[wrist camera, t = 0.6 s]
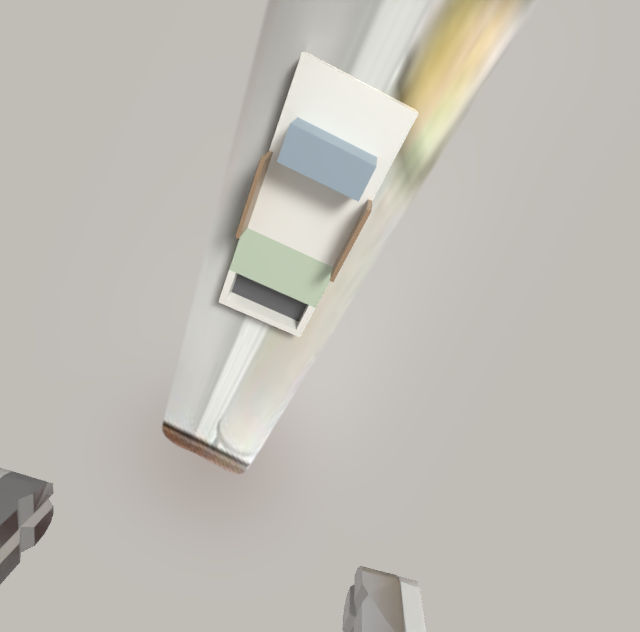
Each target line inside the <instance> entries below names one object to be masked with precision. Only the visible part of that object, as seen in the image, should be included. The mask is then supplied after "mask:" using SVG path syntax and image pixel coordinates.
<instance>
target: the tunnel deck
mask: <svg viewBox="0 0 640 632" xmlns="http://www.w3.org/2000/svg"><path fill="white" fill-rule="evenodd" d="M417 115H418V112H417V110H415V109H413V108H411V107H410V106H408V105H406V104H404V103H402V102H400V101H398V100H396V99H394V98H393V97H391V96H389V95H387V94H385V93H383V92H381V91H379V90H377V89H376V88H374V87H372V86H370V85H368V84H366V83H364V82H362V81H360V80H359V79H357V78H355V77H353V76H351V75H349V74H347V73H345V72H343V71H342V70H340V69H338V68H336V67H334V66H332V65H330V64H328V63H326V62H325V61H323V60H321V59H319V58H317V57H315V56H313V55H311V54H310V53H308V52H302V53H301V56H300V59H299V62H298V65H297V68H296V71H295V74H294V77H293V80H292V83H291V86H290V89H289V92H288V95H287V98H286V101H285V104H284V107H283V110H282V113H281V116H280V119H279V122H278V125H277V128H276V131H275V134H274V137H273V140H272V143H271V146H270V149H269V151H268V152H267V153H266V154H264V155H263V156H262V157H261V159H260V162H259V165H258V168H257V171H256V174H255V177H254V180H253V183H252V186H251V190H250V193H249V196H248V199H247V202H246V205H245V208H244V211H243V214H242V217H241V220H240V223H239V226H238V229H237V232H236V236H235V237H236V238H238V239H239V238H240V239H239V242H238V245H237V248H236V251H235V254H234V257H233V260H232V263H231V266H230V269H229V271H228V274H227V277H226V280H225V283H224V286H223V289H222V292H221V295H220V298H219V301H218V302H219V303H221V304H224V305H226V306H228V307H231V308H233V309H235V310H237V311H240V312H242V313H244V314H247V315H249V316H251V317H254V318H256V319H258V320H261V321H263V322H265V323H268V324H270V325H272V326H274V327H277V328H279V329H281V330H284V331H286V332H288V333H291V334H293V335H295V336H298V337H300V336H301V334H302V332H303V331H304V329H305V327H306V325H307V323H308V321H309V319H310V317H311V315H312V314H313V312H314V310H315V308H316V306H317V304H318V302H319V300H320V299H321V297H322V295H323V293H324V291H325V289H326V287H327V285H328V283H329V282H330V281H332V282H333V281H334V280H335V278H336V276H337V274H338V272H339V270H340V268H341V267H342V265H343V263H344V261H345V259H346V257H347V255H348V254H349V252H350V250H351V248H352V246H353V244H354V242H355V241H356V239H357V237H358V235H359V233H360V231H361V229H362V227H363V226H364V224H365V222H366V220H367V218H368V216H369V214H370V213H371V208H372V200H373V198H374V197H375V195H376V193H377V191H378V189H379V187H380V185H381V183H382V182H383V180H384V178H385V176H386V174H387V172H388V170H389V168H390V166H391V165H392V163H393V161H394V159H395V157H396V155H397V153H398V151H399V149H400V148H401V146H402V144H403V142H404V140H405V138H406V136H407V134H408V132H409V131H410V129H411V127H412V125H413V123H414V121H415V119H416V117H417ZM297 117H299V118H301V119H303V120H305V121H307V122H308V123H310V124H312V125H314V126H316V127H318V128H320V129H322V130H324V131H326V132H328V133H330V134H332V135H334V136H336V137H338V138H340V139H342V140H344V141H346V142H348V143H350V144H352V145H354V146H356V147H358V148H360V149H362V150H364V151H366V152H368V153H370V154H372V155H374V156H376V157H377V166H376V168H375V170H374V172H373V174H372V176H371V178H370V180H369V182H368V184H367V186H366V188H365V190H364V192H363V194H362V196H361V198H360V200H359V202H358V201H356V200H354V199H352V198H350V197H348V196H346V195H344V194H342V193H340V192H338V191H336V190H333V189H331V188H329V187H327V186H325V185H323V184H321V183H319V182H317V181H315V180H313V179H311V178H309V177H307V176H305V175H303V174H301V173H299V172H297V171H295V170H292V169H290V168H288V167H286V166H284V165H282V164H280V163H278V162H277V160H278V157H279V154H280V151H281V148H282V145H283V142H284V140H285V137H286V134H287V131H288V128H289V125H290V123H291V122H292V121H294V120H295V119H296V118H297Z"/></svg>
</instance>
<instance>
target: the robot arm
mask: <svg viewBox="0 0 640 632" xmlns="http://www.w3.org/2000/svg"><path fill="white" fill-rule="evenodd" d="M52 494H53V484H52V483H49V482H46V481H42V480H39V479H36V478H32V477H29V476H26V475H23V474H19V473H16V472H13V471H9V470H6V469H2V468H0V584H1V583H2V582H3V581H4V580H5V579H6V577H7V576H8V575H9V574H10V573H11V572H12V571H13V570H14V568H15V567H16V566H17V565H18V564H19V563H20V557H21V552H23V551H25V550H27V549H29V548H31V547H33V546H35V545H36V543H37V542H38V541H39V540H40V538H41V537H42V536H43V535H44V533H45V532H46V530H47V528H48V526H49V525H50V523H51V520H52V516H53V505H52V504H51V502H50V501H49V499H48V498H49V497H50V496H51V495H52ZM343 631H344V632H426V627H425V620H424V613H423V606H422V599H421V592H420V586H419V584H418V582H417V581H414V580H410V579H406V578H403V577H399V576H396V575H394V574H390V573H385V572H382V571H378V570H374V569H370V568H366V567H362V566H360V567H359V568H358V569H357V571H356V574H355V585H353V586H351V587H350V589H349V592H348V594H347V598H346V603H345V608H344V616H343Z"/></svg>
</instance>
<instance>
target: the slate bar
mask: <svg viewBox="0 0 640 632" xmlns="http://www.w3.org/2000/svg"><path fill="white" fill-rule="evenodd" d="M277 162H278V163H280V164H282V165H284V166H286V167H288V168H290V169H292V170H295V171H297V172H299V173H301V174H303V175H305V176H307V177H309V178H311V179H313V180H315V181H317V182H319V183H321V184H323V185H325V186H327V187H329V188H331V189H333V190H336V191H338V192H340V193H342V194H344V195H346V196H348V197H350V198H352V199H354V200H356V201H358V202H359V200H360V198H361V196H362V194H363V192H364V190H365V188H366V186H367V184H368V182H369V180H370V178H371V176H372V174H373V172H374V170H375V168H376V166H377V157H376V156H374V155H372V154H370V153H368V152H366V151H364V150H362V149H360V148H358V147H356V146H354V145H352V144H350V143H348V142H346V141H344V140H342V139H340V138H338V137H336V136H334V135H332V134H330V133H328V132H326V131H324V130H322V129H320V128H318V127H316V126H314V125H312V124H310V123H308V122H307V121H305V120H303V119H301V118H299V117H297V118H296V119H295V120H294V121H292V122H291V123H290V125H289V128H288V131H287V134H286V137H285V140H284V142H283V145H282V148H281V151H280V154H279V157H278V160H277Z"/></svg>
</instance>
